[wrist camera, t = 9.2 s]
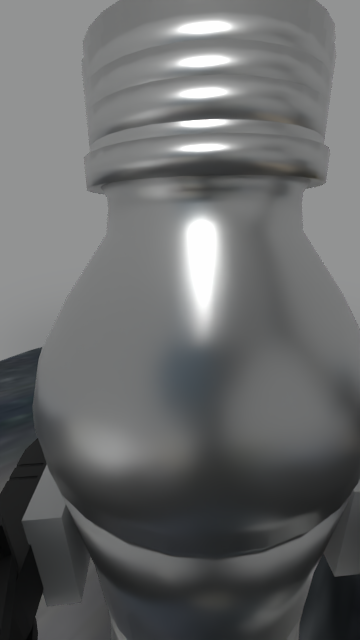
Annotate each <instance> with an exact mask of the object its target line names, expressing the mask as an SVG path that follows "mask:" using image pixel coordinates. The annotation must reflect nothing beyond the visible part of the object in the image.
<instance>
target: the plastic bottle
mask: <svg viewBox="0 0 360 640" xmlns="http://www.w3.org/2000/svg"><path fill="white" fill-rule="evenodd" d="M334 42H335V25H334V22H333V20H332V18H331V17H330V15H329V13H328V11H327V9H326V8H324V7H323V6H322V5H321V4H320V3H319V2H317V1H316V0H119V1H118V2H116V3H115V4H113V5H112V6H110V7H109V8H107V9H106V10H104V11H103V12H102V13H101V14H100V15H99V16H98V17H97V18H96V19H95V21H94V22H93V23H92V24H91V25H90V26H89V28H88V31H87V33H86V35H85V38H84V40H83V59H82V75H83V85H84V94H85V105H86V115H87V125H88V135H89V145H90V153H88V154H87V155H86V156H85V157H84V164H85V174H86V183H87V190H88V191H90V192H93V193H98V194H105V195H106V197H107V199H108V222H107V233H106V235H105V237H104V239H103V240H102V242H101V243H100V245H99V247H98V248H97V250H96V251H95V253H94V255H93V256H92V258H91V259H90V261H89V263H88V264H87V266H86V267H85V269H84V271H83V272H82V274H81V276H80V277H79V279H78V280H77V282H76V283H75V285H74V287H73V288H72V290H71V291H70V293H69V295H68V296H67V298H66V300H65V302H64V304H63V306H62V308H61V310H60V313H59V315H58V316H57V319H56V321H55V323H54V325H53V327H52V329H51V331H50V333H49V335H48V337H47V339H46V341H45V343H44V345H43V348H42V351H41V354H40V357H39V360H38V368H37V376H36V385H35V393H34V401H33V417H34V426H35V431H36V434H37V437H38V439H39V442H40V445H41V448H42V450H43V453H44V457H45V460H46V463H47V466H48V469H49V471H50V473H51V475H52V477H53V479H54V481H55V483H56V485H57V487H58V489H59V491H60V493H61V495H62V497H63V499H64V502H65V504H66V506H67V508H68V510H69V512H70V514H71V516H72V518H73V520H74V522H75V525H76V527H77V529H78V531H79V533H80V535H81V537H82V539H83V541H84V543H85V545H86V547H87V550H88V552H89V554H90V556H91V558H92V560H93V562H94V564H95V567H96V570H97V574H98V577H99V581H100V584H101V588H102V591H103V595H104V598H105V602H106V605H107V607H108V611H109V615H110V620H111V640H299V622H300V619H301V615H302V612H303V607H304V604H305V601H306V598H307V594H308V591H309V587H310V584H311V580H312V577H313V573H314V571H315V569H316V567H317V565H318V563H319V561H320V559H321V557H322V555H323V553H324V551H325V549H326V546H327V544H328V542H329V540H330V538H331V536H332V534H333V532H334V530H335V528H336V526H337V524H338V522H339V520H340V518H341V516H342V514H343V512H344V510H345V508H346V506H347V504H348V502H349V500H350V498H351V494H352V491H353V490H354V488H355V487H356V486H357V484H358V482H359V479H360V329H359V327H358V324H357V323H356V320H355V318H354V316H353V314H352V312H351V310H350V308H349V306H348V304H347V301H346V299H345V297H344V295H343V294H342V292H341V290H340V289H339V287H338V286H337V284H336V282H335V281H334V279H333V278H332V276H331V275H330V273H329V271H328V270H327V268H326V267H325V265H324V263H323V262H322V260H321V259H320V257H319V255H318V254H317V252H316V251H315V249H314V247H313V246H312V244H311V242H310V241H309V239H308V238H307V236H306V235H305V233H304V231H303V223H302V197H303V192H304V191H305V189H307V188H312V187H317V186H320V185H323V184H324V183H326V176H327V170H328V163H329V156H330V150H329V147H327V146H326V145H324V138H325V131H326V124H327V116H328V109H329V102H330V95H331V88H332V79H333V72H334V66H335V59H336V51H335V43H334Z"/></svg>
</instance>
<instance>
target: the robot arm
mask: <svg viewBox="0 0 360 640" xmlns="http://www.w3.org/2000/svg"><path fill="white" fill-rule="evenodd" d="M323 554H324V556H325V558H326V560H327V562H328V564H329V566H330V568H331V570H332V572H333V574H334V577H336V576H346V575H356V574H360V479H359V482H358V484H357V486H356V487H355V488H354V490H353V491H352V494H351V498H350V500H349V502H348V504H347V506H346V508H345V510H344V512H343V514H342V516H341V518H340V520H339V522H338V524H337V526H336V528H335V530H334V532H333V534H332V536H331V538H330V540H329V542H328V544H327V546H326V549H325V551H324V553H323ZM89 561H90V554H89V552H88V550H87V547H86V545H85V543H84V541H83V539H82V537H81V535H80V533H79V531H78V529H77V527H76V525H75V522H74V520H73V518H72V516H71V514H70V512H69V510H68V508H67V506H66V504H65V502H64V499H63V497H62V495H61V493H60V491H59V489H58V487H57V485H56V483H55V481H54V479H53V477H52V475H51V473H50V471H49V469H48V466H47V463H46V460H45V457H44V453H43V450H42V448H41V445H40V442H39V439H38V438H37V439H36V440H35V441H34V442H33V443H32V444H31V445H30V446H29V447H28V448H27V449H26V450H25V451H24V453H23V455H22V457H21V458H20V460H19V462H18V464H17V468H15V469H14V471H13V472H12V474H11V476H10V479H9V481H7V483H6V485H5V487H4V488H3V490H2V492H1V494H0V640H37V639H38V630H37V622H36V618H35V615H36V612H37V609H38V606H39V602H40V599H41V596H42V593H43V595H44V598H45V601H46V605H47V606H56V605H66V604H75V603H81V601H82V596H83V591H84V586H85V581H86V576H87V571H88V566H89Z"/></svg>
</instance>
